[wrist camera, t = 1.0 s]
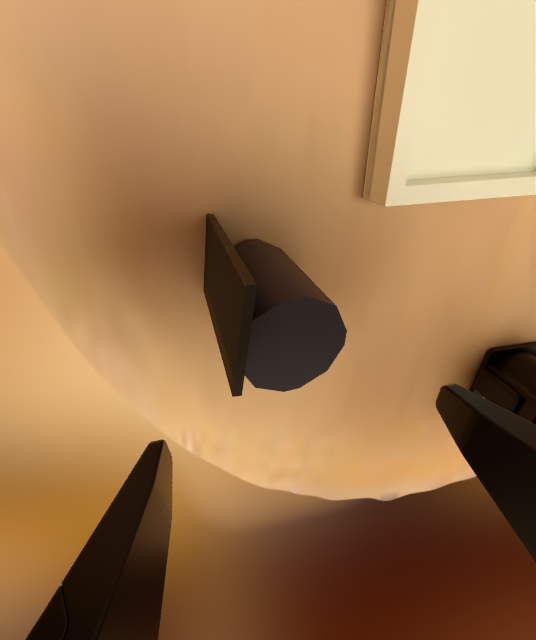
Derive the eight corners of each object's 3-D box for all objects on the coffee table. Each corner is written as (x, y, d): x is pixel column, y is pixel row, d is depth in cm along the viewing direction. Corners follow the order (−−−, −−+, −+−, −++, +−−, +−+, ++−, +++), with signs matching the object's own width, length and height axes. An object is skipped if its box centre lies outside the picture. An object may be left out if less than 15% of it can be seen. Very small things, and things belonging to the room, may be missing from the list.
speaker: (174, 289, 20) (174, 400, 12) (207, 210, 18) (237, 276, 10) (267, 320, 24) (319, 424, 15) (304, 258, 22) (388, 337, 13)
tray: (635, -91, 14) (728, -141, 11) (527, 184, 20) (571, 191, 18) (398, -99, 13) (443, -157, 10) (362, 197, 19) (385, 206, 17)
